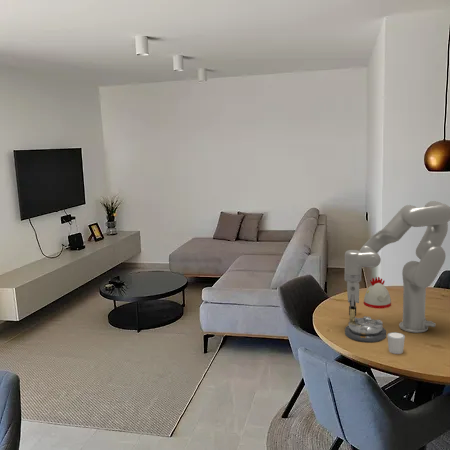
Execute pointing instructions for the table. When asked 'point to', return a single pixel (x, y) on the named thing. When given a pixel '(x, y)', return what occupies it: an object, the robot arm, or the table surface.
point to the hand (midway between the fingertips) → (352, 315)
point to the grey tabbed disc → (364, 325)
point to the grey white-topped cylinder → (396, 342)
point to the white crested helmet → (377, 295)
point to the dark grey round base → (365, 338)
